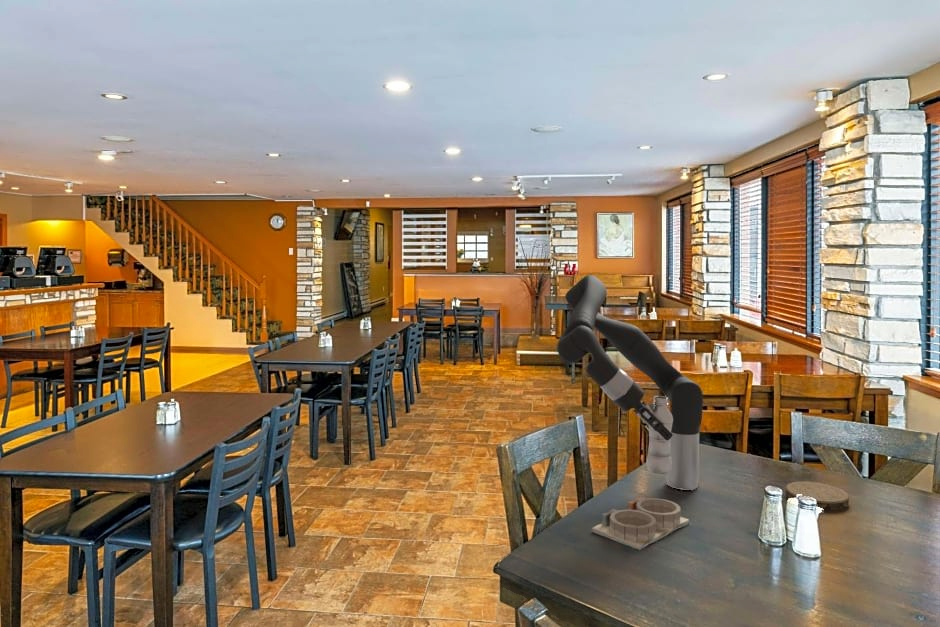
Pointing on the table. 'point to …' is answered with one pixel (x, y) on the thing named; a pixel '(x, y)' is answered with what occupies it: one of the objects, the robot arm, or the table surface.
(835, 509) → the brown round disc
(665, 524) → the bottle stand
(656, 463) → the plastic bottle
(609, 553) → the table surface
